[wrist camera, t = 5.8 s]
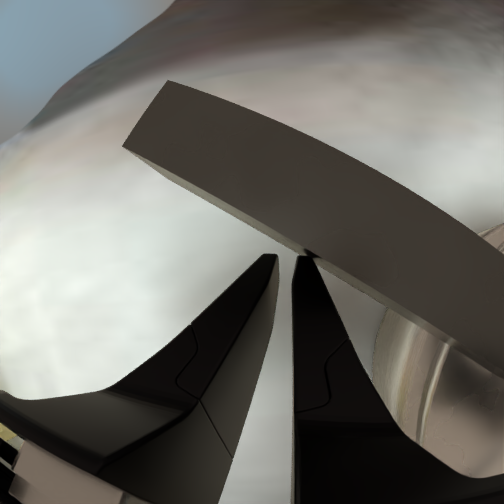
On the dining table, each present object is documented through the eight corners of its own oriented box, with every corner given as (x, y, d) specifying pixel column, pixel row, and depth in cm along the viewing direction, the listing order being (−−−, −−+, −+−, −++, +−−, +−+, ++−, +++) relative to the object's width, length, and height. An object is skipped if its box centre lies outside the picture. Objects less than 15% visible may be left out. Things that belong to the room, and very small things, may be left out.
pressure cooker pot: (594, 334, 14) (659, 342, 6) (495, 493, 15) (537, 547, 6) (321, 109, 22) (316, 23, 13) (191, 294, 22) (113, 296, 13)
